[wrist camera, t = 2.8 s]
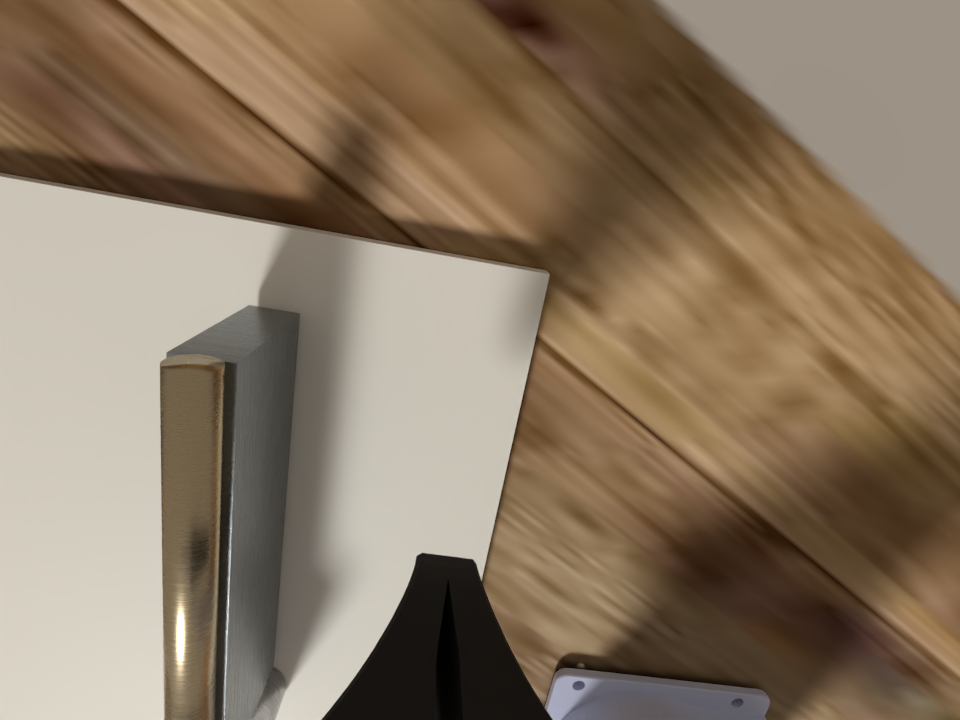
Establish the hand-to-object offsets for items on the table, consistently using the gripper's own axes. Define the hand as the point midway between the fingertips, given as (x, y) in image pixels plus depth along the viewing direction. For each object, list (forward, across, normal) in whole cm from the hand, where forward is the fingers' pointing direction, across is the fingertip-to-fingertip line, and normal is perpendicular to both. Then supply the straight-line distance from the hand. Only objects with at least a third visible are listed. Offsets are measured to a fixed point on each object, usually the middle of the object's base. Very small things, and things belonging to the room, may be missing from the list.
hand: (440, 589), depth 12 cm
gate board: (+7, +7, +5) cm, 11 cm away
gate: (+6, +6, +2) cm, 8 cm away
